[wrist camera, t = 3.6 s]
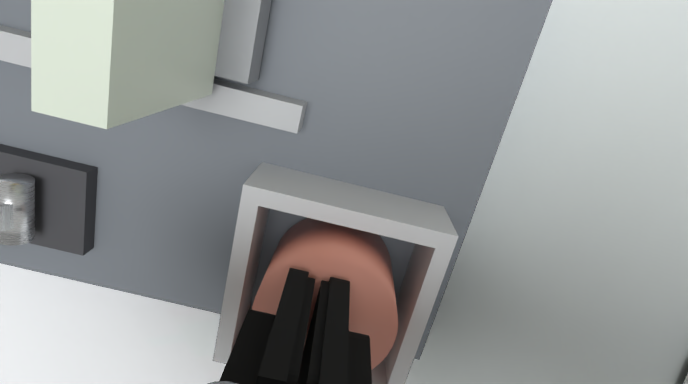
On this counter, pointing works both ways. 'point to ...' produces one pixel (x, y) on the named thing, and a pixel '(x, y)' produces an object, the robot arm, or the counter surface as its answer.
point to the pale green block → (139, 54)
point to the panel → (281, 157)
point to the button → (343, 263)
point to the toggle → (17, 209)
